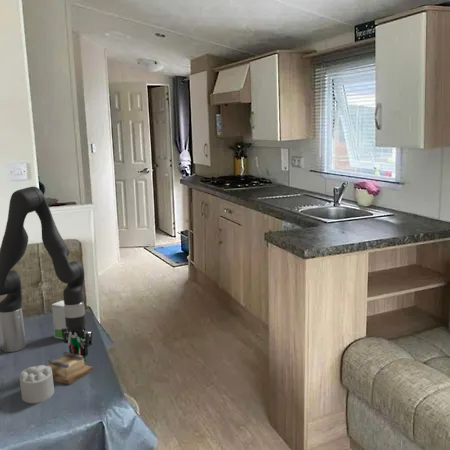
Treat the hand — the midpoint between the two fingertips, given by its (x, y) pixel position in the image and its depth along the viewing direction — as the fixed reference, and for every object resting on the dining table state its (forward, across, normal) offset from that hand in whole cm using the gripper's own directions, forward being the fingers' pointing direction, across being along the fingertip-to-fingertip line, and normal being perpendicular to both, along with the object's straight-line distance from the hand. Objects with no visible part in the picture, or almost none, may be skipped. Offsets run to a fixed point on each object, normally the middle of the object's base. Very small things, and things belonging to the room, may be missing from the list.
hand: (79, 354), depth 194 cm
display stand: (+3, +3, -10) cm, 10 cm away
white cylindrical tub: (+3, +5, -25) cm, 25 cm away
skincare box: (+3, -25, +18) cm, 31 cm away
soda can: (+3, 0, 0) cm, 3 cm away
